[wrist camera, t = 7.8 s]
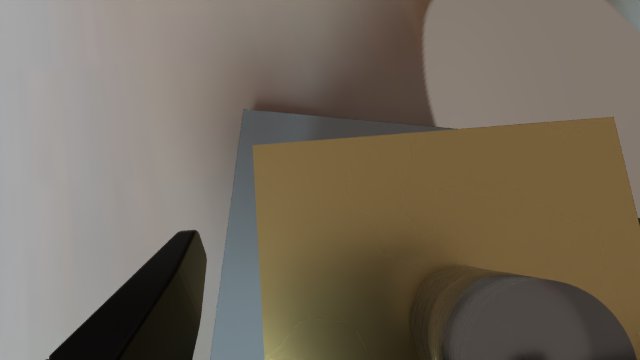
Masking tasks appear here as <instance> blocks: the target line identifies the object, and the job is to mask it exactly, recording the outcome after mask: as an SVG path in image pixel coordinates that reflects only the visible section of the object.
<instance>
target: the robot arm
mask: <svg viewBox="0 0 640 360" xmlns="http://www.w3.org/2000/svg"><path fill="white" fill-rule="evenodd" d="M638 221H639V225H640V218H638ZM206 264H207V258H206V253H205V250H204V247H203V244H202V241H201V238H200V235H199V233H198V232H197V231H196V230H187V231H180V232H178V233H177V234H175V235H174V236H173V237H172V238H171V239H170V240H169V241H168V242H167V243H166V244H165V245H164V246H163V247H162V248H161V249H160V250H159V251H158V252H157V253H156V254H155V255H154V256H153V257H152V258H151V259H150V260H148V261H147V262H146V263H145V264H144V265H143V266H142V267H141V268H140V269H139V270H138V271H137V272H136V273H135V274H134V275H133V276H132V277H131V278H130V279H129V280H128V281H127V282H126V283H125V284H124V285H123V286H121V287H120V288H119V289H118V290H117V291H116V292H115V293H114V294H113V295H112V296H111V297H110V298H109V299H108V300H107V301H106V302H105V303H104V304H103V305H102V306H101V307H100V308H99V309H98V310H97V311H95V312H94V313H93V314H92V315H91V316H90V317H89V318H88V319H87V320H86V321H85V322H84V323H83V324H82V325H81V326H80V327H79V328H78V329H77V330H76V331H75V332H74V333H73V334H72V335H71V336H70V337H68V338H67V339H66V340H65V341H64V342H63V343H62V344H61V345H60V346H59V347H58V348H57V349H56V350H55V351H54V352H53V353H52V354H51V355H50V356H49V359H46V360H192V358H193V353H194V349H195V344H196V340H197V336H198V331H199V326H200V319H201V311H202V302H203V292H204V283H205V273H206Z"/></svg>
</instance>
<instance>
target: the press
mask: <svg viewBox="0 0 640 360" xmlns="http://www.w3.org/2000/svg"><path fill="white" fill-rule="evenodd" d="M441 130H454V129H451V128H441V127H431V126H420V125H409V124H398V123H388V122H377V121H366V120H355V119H344V118H334V117H323V116H312V115H301V114H290V113H280V112H269V111H258V110H247V109H243V116H242V123H241V131H240V138H239V146H238V153H237V161H236V168H235V176H234V183H233V191H232V198H231V206H230V213H229V221H228V228H227V236H226V243H225V251H224V258H223V266H222V273H221V281H220V288H219V296H218V303H217V310H216V318H215V325H214V333H213V340H212V348H211V355H210V360H265V357H264V339H263V321H262V304H261V286H260V268H259V251H258V233H257V215H256V198H255V180H254V162H253V145H263V144H276V143H288V142H301V141H314V140H326V139H339V138H352V137H365V136H377V135H390V134H403V133H416V132H428V131H441Z"/></svg>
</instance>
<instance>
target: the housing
mask: <svg viewBox="0 0 640 360" xmlns="http://www.w3.org/2000/svg"><path fill="white" fill-rule="evenodd" d="M253 162H254V180H255V198H256V215H257V233H258V251H259V268H260V286H261V304H262V321H263V339H264V357H265V360H640V225H639V221H638V217H637V212H636V208H635V204H634V200H633V196H632V192H631V187H630V184H629V179H628V175H627V171H626V167H625V162H624V158H623V154H622V150H621V146H620V142H619V138H618V133H617V129H616V125H615V121H614V117H607V118H595V119H581V120H569V121H556V122H544V123H531V124H517V125H507V126H492V127H480V128H468V129H454V130H441V131H428V132H416V133H403V134H390V135H377V136H365V137H352V138H339V139H326V140H314V141H301V142H288V143H276V144H263V145H253Z"/></svg>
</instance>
